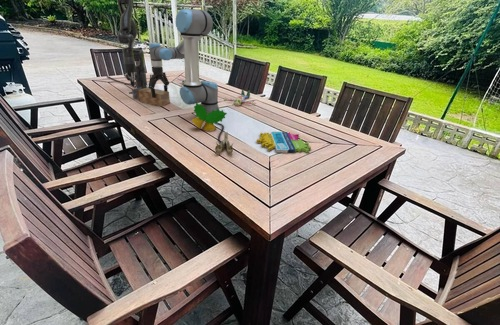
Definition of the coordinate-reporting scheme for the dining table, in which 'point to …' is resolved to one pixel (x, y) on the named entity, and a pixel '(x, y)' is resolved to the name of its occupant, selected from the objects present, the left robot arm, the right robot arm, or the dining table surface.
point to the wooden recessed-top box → (160, 99)
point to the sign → (283, 142)
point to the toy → (241, 99)
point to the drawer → (135, 93)
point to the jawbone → (224, 145)
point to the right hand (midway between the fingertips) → (160, 95)
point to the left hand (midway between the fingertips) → (133, 85)
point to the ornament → (207, 117)
